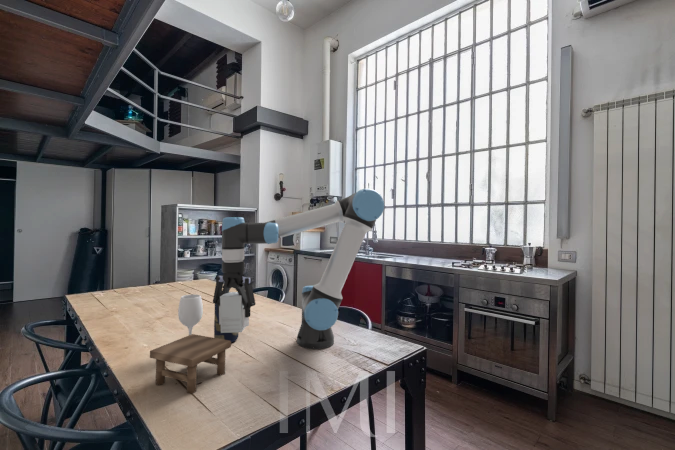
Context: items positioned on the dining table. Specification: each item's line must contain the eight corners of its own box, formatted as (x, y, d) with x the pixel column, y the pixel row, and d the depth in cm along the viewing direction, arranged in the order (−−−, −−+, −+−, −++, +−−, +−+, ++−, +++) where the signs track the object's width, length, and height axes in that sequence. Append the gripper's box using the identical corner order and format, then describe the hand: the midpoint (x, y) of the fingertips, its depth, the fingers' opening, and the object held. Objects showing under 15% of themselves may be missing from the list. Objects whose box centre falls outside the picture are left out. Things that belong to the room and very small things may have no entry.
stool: (230, 371, 103) (230, 340, 103) (191, 396, 88) (192, 359, 88) (191, 363, 109) (192, 334, 109) (149, 385, 94) (149, 350, 94)
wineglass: (195, 347, 123) (196, 292, 123) (207, 353, 118) (208, 296, 118) (172, 354, 116) (173, 296, 116) (183, 360, 111) (184, 300, 111)
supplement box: (247, 326, 117) (247, 291, 117) (241, 332, 109) (241, 295, 109) (226, 326, 116) (226, 291, 116) (219, 333, 109) (219, 296, 109)
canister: (230, 346, 125) (231, 299, 125) (208, 343, 127) (209, 298, 127) (242, 337, 135) (243, 294, 135) (222, 335, 136) (223, 293, 137)
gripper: (265, 260, 113) (266, 325, 113) (216, 259, 120) (216, 319, 120) (253, 263, 106) (253, 331, 106) (201, 261, 113) (201, 324, 113)
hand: (234, 324), depth 113 cm, fingers closed on supplement box, 9 cm apart
